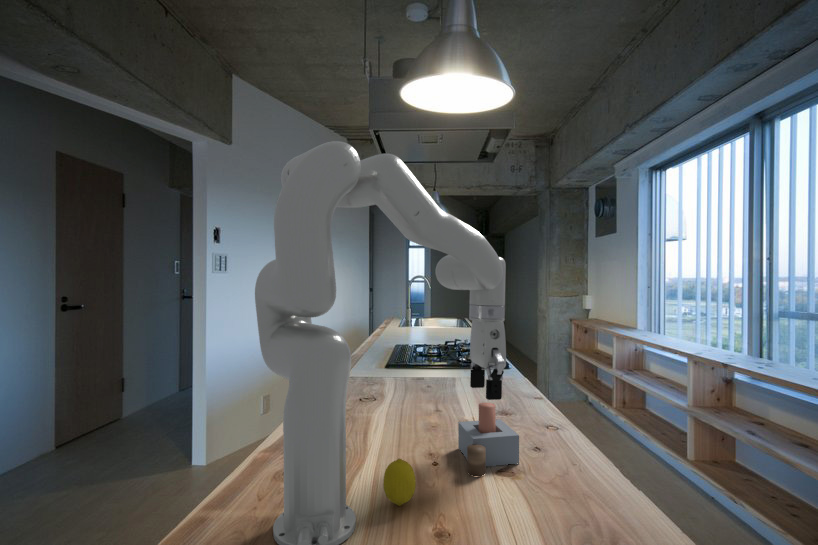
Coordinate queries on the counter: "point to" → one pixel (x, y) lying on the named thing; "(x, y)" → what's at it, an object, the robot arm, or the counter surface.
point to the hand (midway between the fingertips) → (485, 393)
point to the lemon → (399, 482)
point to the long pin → (487, 418)
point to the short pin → (476, 460)
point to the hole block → (491, 442)
